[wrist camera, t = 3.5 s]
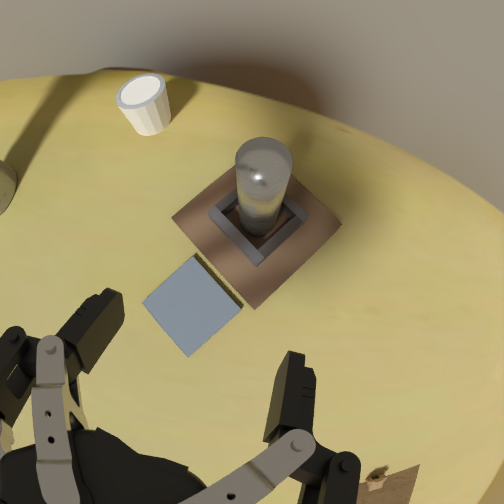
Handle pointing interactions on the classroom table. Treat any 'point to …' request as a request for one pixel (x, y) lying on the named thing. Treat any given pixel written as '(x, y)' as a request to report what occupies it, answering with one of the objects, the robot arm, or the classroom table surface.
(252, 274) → the square socket base
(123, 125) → the classroom table surface
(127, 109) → the white cup
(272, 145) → the peg
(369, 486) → the model pyramid
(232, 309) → the pad
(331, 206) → the classroom table surface
